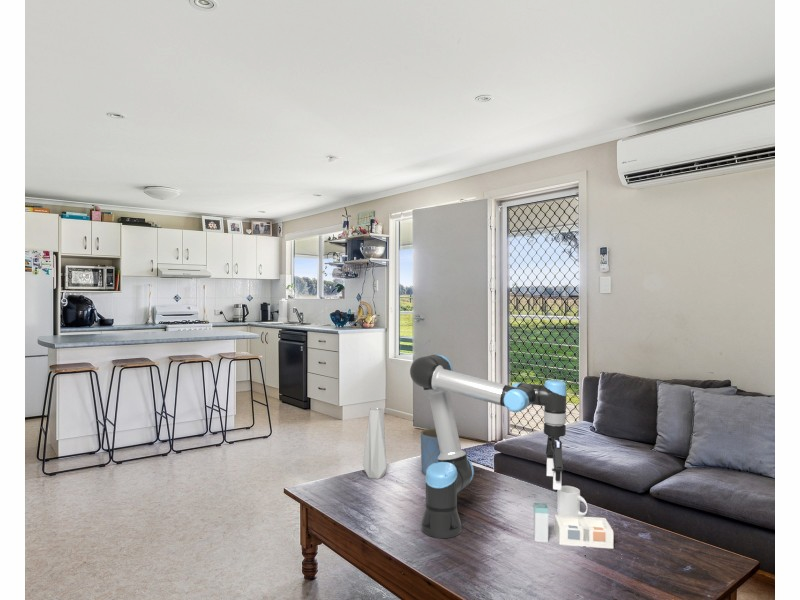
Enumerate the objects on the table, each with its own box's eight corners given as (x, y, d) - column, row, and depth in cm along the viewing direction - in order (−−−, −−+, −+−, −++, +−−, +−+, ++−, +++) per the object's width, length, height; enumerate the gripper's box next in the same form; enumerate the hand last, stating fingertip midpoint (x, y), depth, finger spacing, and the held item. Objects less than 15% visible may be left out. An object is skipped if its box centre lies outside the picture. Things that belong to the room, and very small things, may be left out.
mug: (582, 525, 192) (582, 497, 192) (553, 516, 200) (553, 489, 200) (591, 518, 198) (591, 491, 198) (563, 510, 206) (563, 483, 206)
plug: (534, 541, 178) (535, 507, 178) (533, 535, 183) (533, 502, 183) (548, 542, 178) (548, 508, 178) (546, 536, 182) (546, 503, 182)
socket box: (559, 545, 176) (559, 527, 176) (554, 530, 187) (554, 514, 187) (613, 549, 173) (613, 531, 173) (605, 534, 184) (605, 517, 184)
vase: (379, 482, 237) (379, 412, 237) (359, 477, 243) (360, 409, 244) (393, 475, 247) (393, 408, 247) (374, 471, 253) (374, 405, 254)
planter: (418, 477, 244) (418, 436, 244) (422, 465, 262) (423, 427, 263) (457, 480, 241) (457, 438, 241) (459, 467, 259) (459, 429, 260)
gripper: (573, 433, 168) (571, 496, 168) (559, 416, 193) (557, 471, 193) (550, 431, 169) (548, 494, 169) (539, 415, 194) (537, 470, 194)
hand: (553, 482), depth 181 cm, fingers open, 13 cm apart
